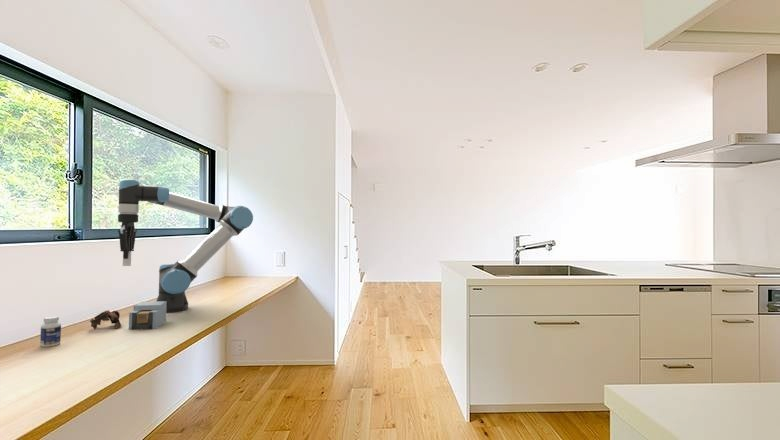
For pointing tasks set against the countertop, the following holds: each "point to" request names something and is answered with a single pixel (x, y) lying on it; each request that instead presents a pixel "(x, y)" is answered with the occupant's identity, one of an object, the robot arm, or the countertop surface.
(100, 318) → the brown curved piece
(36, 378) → the countertop surface
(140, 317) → the peg
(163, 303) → the sleeve block
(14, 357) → the countertop surface
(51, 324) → the pill bottle
